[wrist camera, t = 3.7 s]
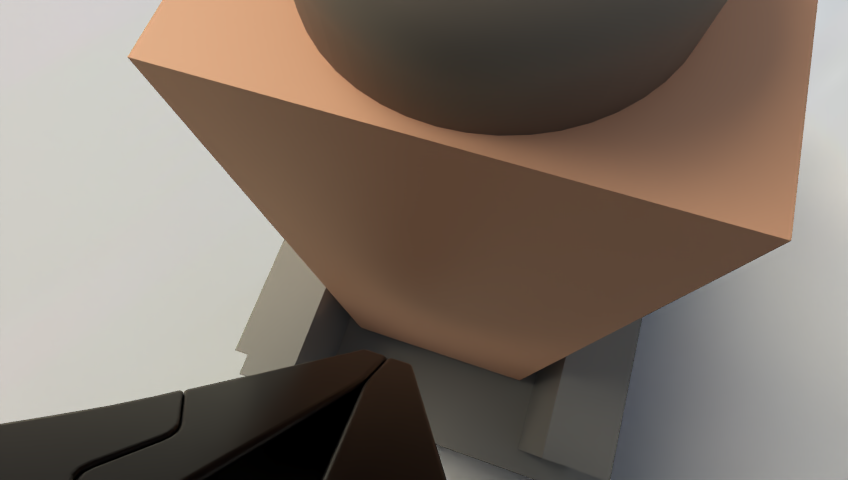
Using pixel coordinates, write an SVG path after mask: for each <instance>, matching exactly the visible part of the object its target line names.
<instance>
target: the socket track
mask: <svg viewBox="0 0 848 480" xmlns="http://www.w3.org/2000/svg"><path fill="white" fill-rule="evenodd" d="M641 321H642V318H640V319H638V320H636V321H634V322H632V323H630V324H628V325H626V326H624V327H622V328H620V329H618V330H616V331H615V332H613V333H611V334H609V335H607V336H605V337H603V338H601V339H599V340H597V341H595V342H593V343H591V344H589V345H587V346H585V347H583V348H581V349H580V350H578V351H576V352H574V353H572V354H570V355H568V356H566V357H564V358H562V359H560V360H558V361H556V362H554V363H552V364H550V365H548V366H546V367H545V368H543V369H541V370H539V371H537V372H535V373H533V374H531V375H529V376H527V377H525V378H523V379H521V380H516V379H513V378H510V377H507V376H504V375H501V374H498V373H495V372H492V371H489V370H486V369H483V368H480V367H477V366H474V365H471V364H468V363H465V362H462V361H459V360H456V359H453V358H450V357H447V356H444V355H441V354H438V353H435V352H432V351H429V350H426V349H423V348H420V347H417V346H414V345H411V344H408V343H405V342H402V341H399V340H396V339H393V338H390V337H387V336H384V335H381V334H378V333H375V332H372V331H369V330H366V329H363V328H361V327H360V326H359V325H358V324H357V323H356V322H355V320H354V319H353V318H352V317H351V316H350V315H349V313H348V312H347V311H346V310H345V309H344V308H343V307H342V305H341V304H340V303H339V302H338V301H337V300H336V298H335V297H334V296H333V295H332V294H331V293H330V291H329V290H328V289H327V288H326V287H325V286H324V284H323V283H322V282H321V281H320V280H319V279H318V277H317V276H316V275H315V274H314V273H313V272H312V271H311V269H310V268H309V267H308V266H307V265H306V264H305V262H304V261H303V260H302V259H301V258H300V257H299V255H298V254H297V253H296V252H295V251H294V250H293V248H292V247H291V246H290V245H289V244H288V243H287V242H286V240H285V239H284V241H283V244H282V246H281V248H280V250H279V253H278V255H277V257H276V259H275V262H274V264H273V266H272V268H271V271H270V273H269V275H268V277H267V280H266V282H265V284H264V286H263V289H262V291H261V293H260V296H259V298H258V300H257V302H256V305H255V307H254V309H253V311H252V314H251V316H250V318H249V320H248V323H247V325H246V327H245V329H244V332H243V334H242V336H241V338H240V341H239V343H238V345H237V347H236V351H239V352H242V353H245V354H248V355H247V358H246V360H245V362H244V365H243V367H242V369H241V372H240V374H241V375H244V376H249V375H254V374H258V373H263V372H267V371H271V370H276V369H280V368H284V367H289V366H293V365H298V364H302V363H306V362H311V361H315V360H320V359H324V358H328V357H333V356H337V355H341V354H346V353H350V352H354V351H359V350H369V351H372V352H375V353H378V354H381V355H384V356H385V357H386V359H389V358H393V359H396V360H399V361H402V362H406V363H409V364H410V365H411V366H412V367H413V371H414V374H415V377H416V381H417V384H418V387H419V391H420V394H421V397H422V400H423V404H424V407H425V410H426V414H427V417H428V420H429V424H430V427H431V430H432V434H433V437H434V440H435V444H437V445H440V446H442V447H445V448H448V449H451V450H453V451H456V452H459V453H462V454H465V455H467V456H470V457H473V458H476V459H479V460H481V461H484V462H487V463H490V464H493V465H495V466H498V467H501V468H504V469H507V470H509V471H512V472H515V473H518V474H521V475H523V476H526V477H529V478H532V479H535V480H610V477H611V472H612V467H613V462H614V457H615V452H616V447H617V442H618V437H619V432H620V427H621V422H622V416H623V411H624V406H625V401H626V396H627V391H628V386H629V381H630V376H631V371H632V366H633V361H634V356H635V351H636V346H637V341H638V336H639V331H640V326H641Z"/></svg>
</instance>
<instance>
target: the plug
mask: <svg viewBox="0 0 848 480" xmlns="http://www.w3.org/2000/svg"><path fill="white" fill-rule="evenodd" d="M817 3H818V0H162V2H161V4H160V5H159V7H158V8H157V10H156V12H155V13H154V15H153V17H152V18H151V20H150V21H149V23H148V25H147V26H146V28H145V29H144V31H143V33H142V34H141V36H140V38H139V39H138V41H137V42H136V44H135V46H134V47H133V49H132V50H131V52H130V54H129V55H128V58H129V59H130V60H131V62H132V63H133V64H134V65H135V66H136V67H137V69H138V70H139V71H140V72H141V73H142V74H143V76H144V77H145V78H146V79H147V80H148V81H149V82H150V84H151V85H152V86H153V87H154V88H155V89H156V91H157V92H158V93H159V94H160V95H161V96H162V98H163V99H164V100H165V101H166V102H167V103H168V105H169V106H170V107H171V108H172V109H173V110H174V112H175V113H176V114H177V115H178V116H179V117H180V118H181V120H182V121H183V122H184V123H185V124H186V125H187V127H188V128H189V129H190V130H191V131H192V132H193V134H194V135H195V136H196V137H197V138H198V139H199V141H200V142H201V143H202V144H203V145H204V146H205V147H206V149H207V150H208V151H209V152H210V153H211V154H212V156H213V157H214V158H215V159H216V160H217V161H218V163H219V164H220V165H221V166H222V167H223V168H224V170H225V171H226V172H227V173H228V174H229V175H230V177H231V178H232V179H233V180H234V181H235V182H236V183H237V185H238V186H239V187H240V188H241V189H242V190H243V192H244V193H245V194H246V195H247V196H248V197H249V199H250V200H251V201H252V202H253V203H254V204H255V206H256V207H257V208H258V209H259V210H260V211H261V212H262V214H263V215H264V216H265V217H266V218H267V219H268V221H269V222H270V223H271V224H272V225H273V226H274V228H275V229H276V230H277V231H278V232H279V233H280V235H281V236H282V237H283V238H284V239H285V240H286V242H287V243H288V244H289V245H290V246H291V247H292V248H293V250H294V251H295V252H296V253H297V254H298V255H299V257H300V258H301V259H302V260H303V261H304V262H305V264H306V265H307V266H308V267H309V268H310V269H311V271H312V272H313V273H314V274H315V275H316V276H317V277H318V279H319V280H320V281H321V282H322V283H323V284H324V286H325V287H326V288H327V289H328V290H329V291H330V293H331V294H332V295H333V296H334V297H335V298H336V300H337V301H338V302H339V303H340V304H341V305H342V307H343V308H344V309H345V310H346V311H347V312H348V313H349V315H350V316H351V317H352V318H353V319H354V320H355V322H356V323H357V324H358V325H359V326H360V327H361V328H363V329H366V330H369V331H372V332H375V333H378V334H381V335H384V336H387V337H390V338H393V339H396V340H399V341H402V342H405V343H408V344H411V345H414V346H417V347H420V348H423V349H426V350H429V351H432V352H435V353H438V354H441V355H444V356H447V357H450V358H453V359H456V360H459V361H462V362H465V363H468V364H471V365H474V366H477V367H480V368H483V369H486V370H489V371H492V372H495V373H498V374H501V375H504V376H507V377H510V378H513V379H516V380H521V379H523V378H525V377H527V376H529V375H531V374H533V373H535V372H537V371H539V370H541V369H543V368H545V367H546V366H548V365H550V364H552V363H554V362H556V361H558V360H560V359H562V358H564V357H566V356H568V355H570V354H572V353H574V352H576V351H578V350H580V349H581V348H583V347H585V346H587V345H589V344H591V343H593V342H595V341H597V340H599V339H601V338H603V337H605V336H607V335H609V334H611V333H613V332H615V331H616V330H618V329H620V328H622V327H624V326H626V325H628V324H630V323H632V322H634V321H636V320H638V319H640V318H642V317H644V316H646V315H648V314H650V313H652V312H653V311H655V310H657V309H659V308H661V307H663V306H665V305H667V304H669V303H671V302H673V301H675V300H677V299H679V298H681V297H683V296H685V295H687V294H688V293H690V292H692V291H694V290H696V289H698V288H700V287H702V286H704V285H706V284H708V283H710V282H712V281H714V280H716V279H718V278H720V277H722V276H723V275H725V274H727V273H729V272H731V271H733V270H735V269H737V268H739V267H741V266H743V265H745V264H747V263H749V262H751V261H753V260H755V259H757V258H758V257H760V256H762V255H764V254H766V253H768V252H770V251H772V250H774V249H776V248H778V247H780V246H782V245H784V244H786V243H788V242H790V241H791V238H792V229H793V220H794V211H795V202H796V193H797V184H798V175H799V166H800V157H801V147H802V138H803V129H804V120H805V111H806V102H807V93H808V84H809V75H810V66H811V57H812V48H813V39H814V30H815V21H816V12H817Z"/></svg>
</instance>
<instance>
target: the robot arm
mask: <svg viewBox="0 0 848 480" xmlns="http://www.w3.org/2000/svg"><path fill="white" fill-rule="evenodd" d="M0 480H446V477H445V474H444V470H443V467H442V464H441V460H440V457H439V454H438V450H437V447H436V444H435V440H434V437H433V434H432V430H431V427H430V424H429V420H428V417H427V414H426V410H425V407H424V404H423V400H422V397H421V394H420V391H419V387H418V384H417V381H416V377H415V374H414V371H413V367H412V366H411V365H410V364H409V363H406V362H402V361H399V360H396V359H393V358H389V359H386V357H385V356H384V355H381V354H378V353H375V352H372V351H369V350H359V351H354V352H350V353H346V354H341V355H337V356H333V357H328V358H324V359H320V360H315V361H311V362H306V363H302V364H298V365H293V366H289V367H284V368H280V369H276V370H271V371H267V372H263V373H258V374H254V375H249V376H245V377H241V378H236V379H232V380H228V381H223V382H219V383H214V384H210V385H206V386H201V387H197V388H193V389H188V390H186V391H185V392H184V395H183V392H182V391H175V392H171V393H167V394H162V395H158V396H154V397H149V398H144V399H139V400H134V401H130V402H125V403H120V404H115V405H110V406H105V407H99V408H93V409H87V410H82V411H76V412H70V413H64V414H58V415H53V416H46V417H40V418H34V419H28V420H22V421H15V422H9V423H3V424H0Z"/></svg>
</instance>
